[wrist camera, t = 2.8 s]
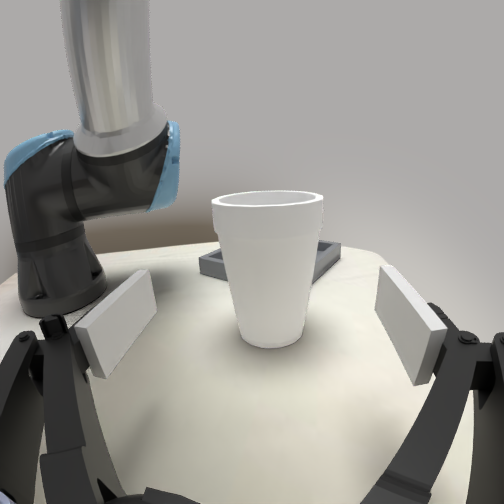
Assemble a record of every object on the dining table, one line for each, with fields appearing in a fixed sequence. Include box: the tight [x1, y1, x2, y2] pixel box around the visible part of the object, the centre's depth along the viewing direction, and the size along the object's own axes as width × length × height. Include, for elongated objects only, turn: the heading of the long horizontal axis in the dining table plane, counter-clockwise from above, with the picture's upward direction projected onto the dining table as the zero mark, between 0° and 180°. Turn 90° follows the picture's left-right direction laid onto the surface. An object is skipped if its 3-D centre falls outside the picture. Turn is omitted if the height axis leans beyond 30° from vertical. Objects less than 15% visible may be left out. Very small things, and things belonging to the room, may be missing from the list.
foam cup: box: [212, 191, 323, 348], centre depth 26 cm, size 10×9×13 cm
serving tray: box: [199, 240, 341, 284], centre depth 44 cm, size 16×16×2 cm
